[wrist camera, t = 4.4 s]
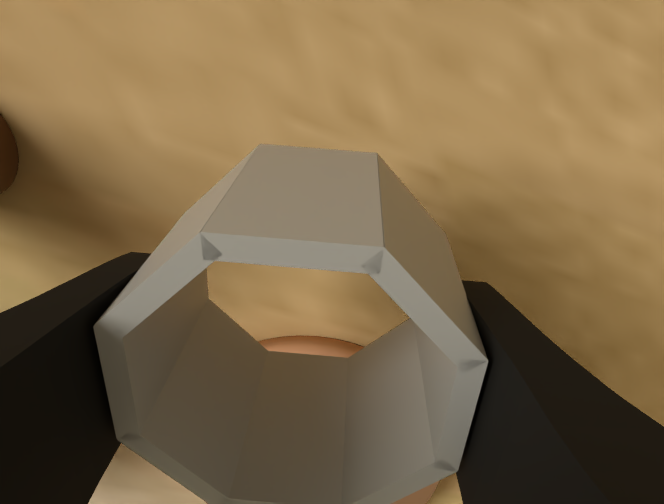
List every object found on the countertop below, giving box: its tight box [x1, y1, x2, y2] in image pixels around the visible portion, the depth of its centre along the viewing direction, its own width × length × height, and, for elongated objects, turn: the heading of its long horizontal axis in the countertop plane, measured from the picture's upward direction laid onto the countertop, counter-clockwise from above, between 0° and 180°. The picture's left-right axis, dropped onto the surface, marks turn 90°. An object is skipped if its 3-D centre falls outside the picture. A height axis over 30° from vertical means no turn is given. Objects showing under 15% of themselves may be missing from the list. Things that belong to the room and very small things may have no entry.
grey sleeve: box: [93, 144, 488, 504], centre depth 9 cm, size 6×6×4 cm
